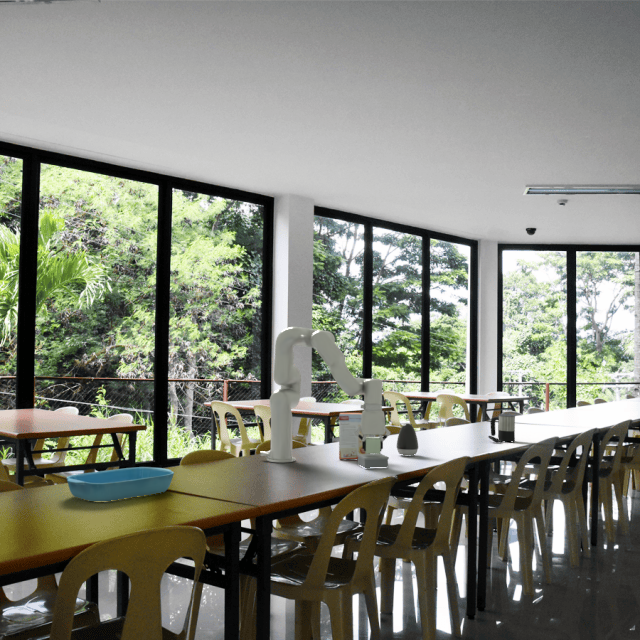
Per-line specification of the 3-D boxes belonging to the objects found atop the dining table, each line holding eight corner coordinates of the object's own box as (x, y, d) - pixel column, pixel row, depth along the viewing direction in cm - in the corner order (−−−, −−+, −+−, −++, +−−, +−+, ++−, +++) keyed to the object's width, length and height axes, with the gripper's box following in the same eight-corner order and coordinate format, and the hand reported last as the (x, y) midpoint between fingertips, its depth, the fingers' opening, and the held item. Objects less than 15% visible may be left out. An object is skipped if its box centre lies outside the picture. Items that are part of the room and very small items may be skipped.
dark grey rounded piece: (421, 455, 325) (421, 423, 325) (413, 458, 315) (414, 424, 316) (401, 453, 329) (401, 421, 330) (393, 456, 320) (393, 423, 321)
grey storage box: (364, 470, 282) (364, 458, 283) (356, 466, 293) (357, 454, 293) (388, 469, 285) (388, 457, 285) (380, 465, 295) (380, 453, 295)
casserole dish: (147, 483, 249) (147, 463, 249) (186, 491, 235) (186, 470, 235) (51, 498, 221) (52, 476, 221) (89, 509, 206) (90, 485, 207)
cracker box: (370, 459, 311) (370, 412, 312) (370, 461, 305) (370, 413, 306) (339, 458, 312) (340, 412, 313) (338, 460, 306) (339, 413, 307)
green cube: (366, 453, 286) (366, 439, 286) (364, 451, 292) (364, 437, 292) (380, 453, 286) (380, 439, 287) (378, 451, 292) (378, 437, 292)
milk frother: (515, 441, 383) (515, 414, 384) (514, 444, 368) (514, 416, 369) (489, 439, 387) (489, 413, 388) (487, 443, 372) (487, 415, 373)
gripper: (353, 408, 286) (352, 451, 285) (394, 408, 287) (394, 452, 286) (352, 407, 294) (351, 449, 293) (391, 407, 294) (391, 449, 293)
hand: (372, 450), depth 289 cm, fingers closed on green cube, 5 cm apart
